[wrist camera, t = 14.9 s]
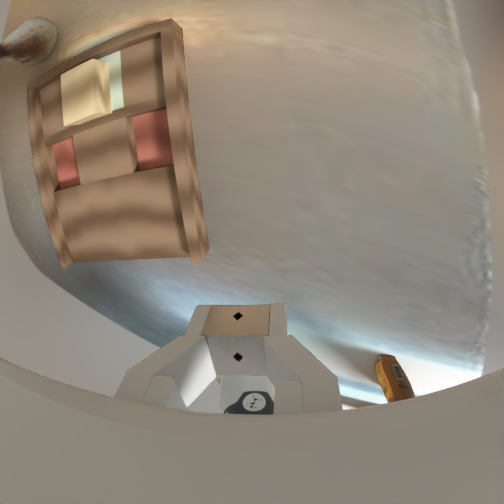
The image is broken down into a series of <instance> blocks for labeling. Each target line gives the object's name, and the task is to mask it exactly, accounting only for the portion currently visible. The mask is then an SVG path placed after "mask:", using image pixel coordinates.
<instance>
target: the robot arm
mask: <svg viewBox="0 0 504 504" xmlns="http://www.w3.org/2000/svg"><path fill="white" fill-rule="evenodd" d="M215 378H216V380H217V381H218V383H219V384H220V390H219V398H218V404H219V405H220V407H221V408H222V410H224V413H211V412H199V411H190V410H188V409H187V407H188V406H189V405H190V404H191V403H192V402H193V401H194V400H195V399H196V398H197V397H198V395H199V394H200V393H201V392H202V391H203V390H204V389H205V388H206V387H207V386H208V385H209V384H210V383H211V382H212V381H213V380H214V379H215ZM0 504H504V368H502V369H500V370H497V371H495V372H492V373H490V374H487V375H485V376H482V377H480V378H477V379H474V380H471V381H469V382H466V383H463V384H460V385H457V386H454V387H451V388H447V389H444V390H441V391H437V392H434V393H430V394H426V395H422V396H418V397H414V398H410V399H405V400H401V401H396V402H391V403H386V404H381V405H375V406H369V407H362V408H355V409H348V410H342V404H341V398H340V392H339V386H338V380H337V376H335V375H334V374H333V373H332V372H331V371H330V370H329V369H328V368H327V367H326V366H325V365H323V364H322V363H321V362H320V361H319V360H318V359H317V358H316V357H315V356H314V355H313V354H312V353H311V352H309V351H308V350H307V349H306V348H305V347H304V346H303V345H302V344H301V343H300V342H299V341H298V340H297V339H296V338H295V337H294V336H292V335H287V311H286V303H275V304H264V305H198V306H197V307H196V308H195V311H194V313H193V315H192V318H191V320H190V323H189V325H188V327H187V330H186V332H185V335H180V336H178V337H177V338H175V339H174V340H172V341H171V342H169V343H168V344H166V345H165V346H163V347H162V348H160V349H159V350H157V351H156V352H154V353H153V354H151V355H150V356H148V357H147V358H145V359H144V360H142V361H141V362H139V363H138V364H136V365H135V366H133V367H132V368H130V369H129V370H128V371H127V372H126V374H125V376H124V378H123V380H122V382H121V384H120V386H119V388H118V389H117V391H116V394H115V396H114V397H111V396H107V395H103V394H99V393H95V392H91V391H88V390H84V389H81V388H78V387H75V386H71V385H68V384H65V383H62V382H59V381H56V380H53V379H51V378H48V377H45V376H42V375H40V374H37V373H35V372H32V371H30V370H27V369H25V368H23V367H20V366H18V365H16V364H13V363H11V362H9V361H7V360H5V359H3V358H1V357H0Z"/></svg>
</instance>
